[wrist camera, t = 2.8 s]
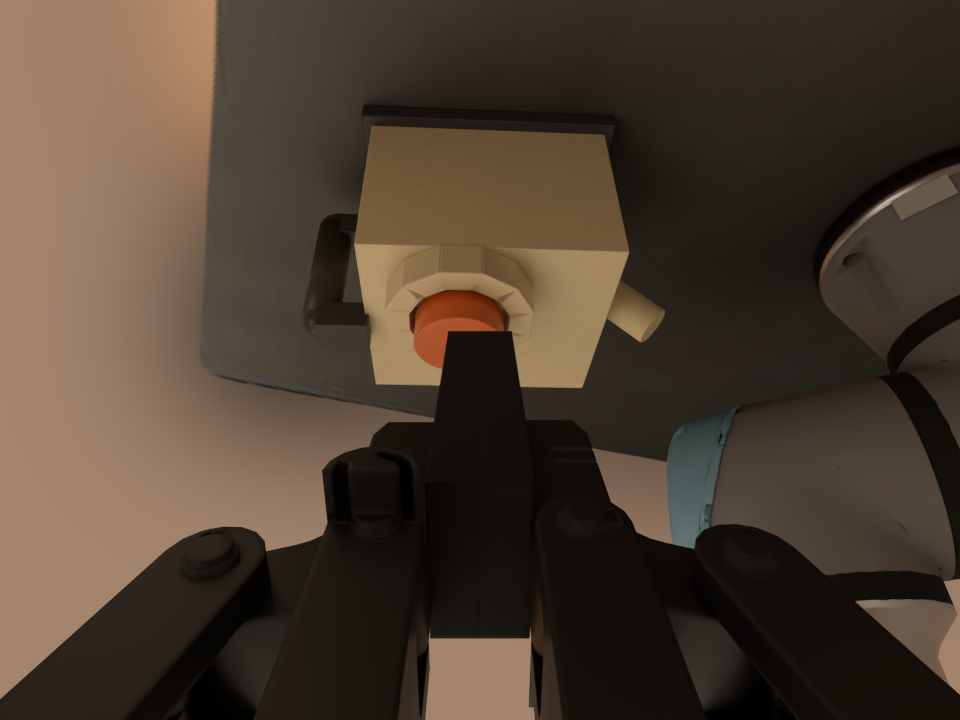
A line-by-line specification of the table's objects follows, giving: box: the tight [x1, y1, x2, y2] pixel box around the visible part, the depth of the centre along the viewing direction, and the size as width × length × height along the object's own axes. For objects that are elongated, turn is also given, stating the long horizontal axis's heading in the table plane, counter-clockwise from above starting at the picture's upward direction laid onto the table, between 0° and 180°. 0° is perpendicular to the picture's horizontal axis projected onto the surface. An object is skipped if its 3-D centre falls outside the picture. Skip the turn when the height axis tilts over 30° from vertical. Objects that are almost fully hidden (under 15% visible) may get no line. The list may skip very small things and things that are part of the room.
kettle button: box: [414, 290, 504, 369], centre depth 30 cm, size 4×4×2 cm
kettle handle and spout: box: [301, 106, 665, 346], centre depth 36 cm, size 20×13×11 cm, turn 87°
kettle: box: [354, 126, 629, 388], centre depth 36 cm, size 13×12×12 cm
